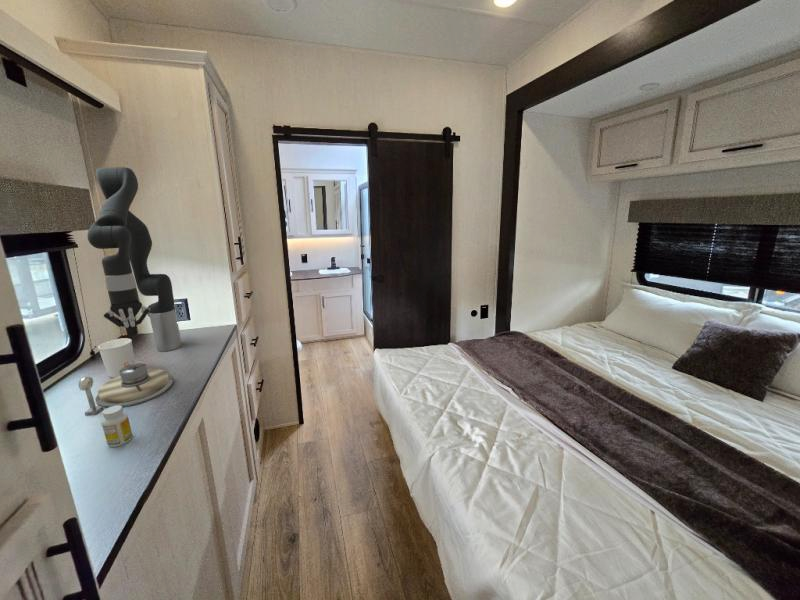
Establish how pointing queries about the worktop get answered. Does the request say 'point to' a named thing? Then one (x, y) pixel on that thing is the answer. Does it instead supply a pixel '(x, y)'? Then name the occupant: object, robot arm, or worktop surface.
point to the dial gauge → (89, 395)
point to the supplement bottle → (116, 426)
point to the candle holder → (116, 355)
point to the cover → (134, 375)
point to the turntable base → (137, 401)
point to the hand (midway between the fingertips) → (133, 336)
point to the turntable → (117, 393)
